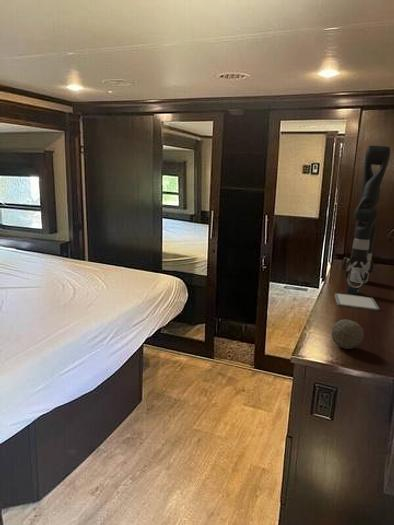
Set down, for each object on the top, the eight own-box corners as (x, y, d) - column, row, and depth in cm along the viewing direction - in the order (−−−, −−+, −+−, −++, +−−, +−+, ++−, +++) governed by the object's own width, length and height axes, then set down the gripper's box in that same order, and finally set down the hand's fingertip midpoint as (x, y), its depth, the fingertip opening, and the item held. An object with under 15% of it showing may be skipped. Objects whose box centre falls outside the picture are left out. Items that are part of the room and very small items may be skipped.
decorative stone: (329, 349, 135) (333, 322, 132) (330, 340, 142) (334, 314, 140) (361, 356, 131) (366, 328, 129) (360, 346, 139) (365, 319, 137)
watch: (360, 295, 198) (364, 274, 195) (343, 292, 202) (347, 271, 200) (362, 293, 203) (366, 272, 200) (346, 290, 207) (349, 269, 204)
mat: (334, 294, 198) (334, 292, 198) (372, 298, 194) (372, 297, 194) (337, 305, 181) (338, 304, 181) (379, 310, 177) (380, 309, 177)
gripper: (374, 248, 199) (369, 279, 202) (344, 245, 202) (340, 275, 206) (377, 250, 192) (371, 282, 195) (346, 247, 195) (341, 279, 198)
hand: (355, 279), depth 200 cm, fingers closed on watch, 8 cm apart
